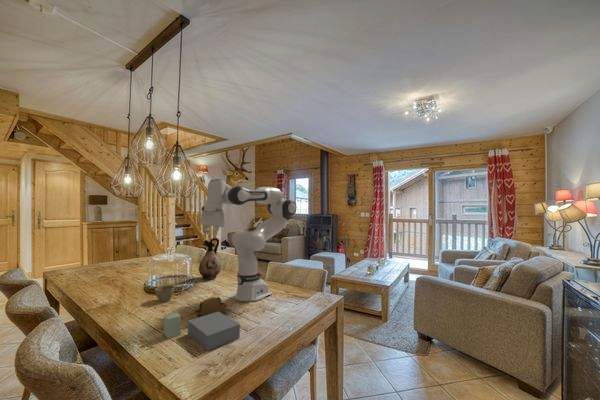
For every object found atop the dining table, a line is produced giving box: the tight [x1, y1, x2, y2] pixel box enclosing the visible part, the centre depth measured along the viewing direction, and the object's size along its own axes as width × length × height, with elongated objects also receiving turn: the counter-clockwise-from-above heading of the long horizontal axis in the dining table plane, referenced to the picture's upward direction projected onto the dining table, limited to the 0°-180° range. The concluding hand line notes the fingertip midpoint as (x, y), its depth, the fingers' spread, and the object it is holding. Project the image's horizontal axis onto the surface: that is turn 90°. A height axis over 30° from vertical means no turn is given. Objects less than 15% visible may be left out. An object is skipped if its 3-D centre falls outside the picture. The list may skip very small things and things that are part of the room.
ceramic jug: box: [198, 237, 222, 281], centre depth 196 cm, size 17×15×30 cm
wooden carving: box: [193, 296, 228, 318], centre depth 128 cm, size 16×5×10 cm, turn 141°
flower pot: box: [154, 284, 176, 303], centre depth 150 cm, size 10×10×7 cm
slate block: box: [187, 312, 241, 352], centre depth 111 cm, size 14×18×6 cm
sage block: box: [163, 312, 182, 340], centre depth 111 cm, size 5×5×8 cm
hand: (210, 234), depth 140 cm, fingers open, 8 cm apart
